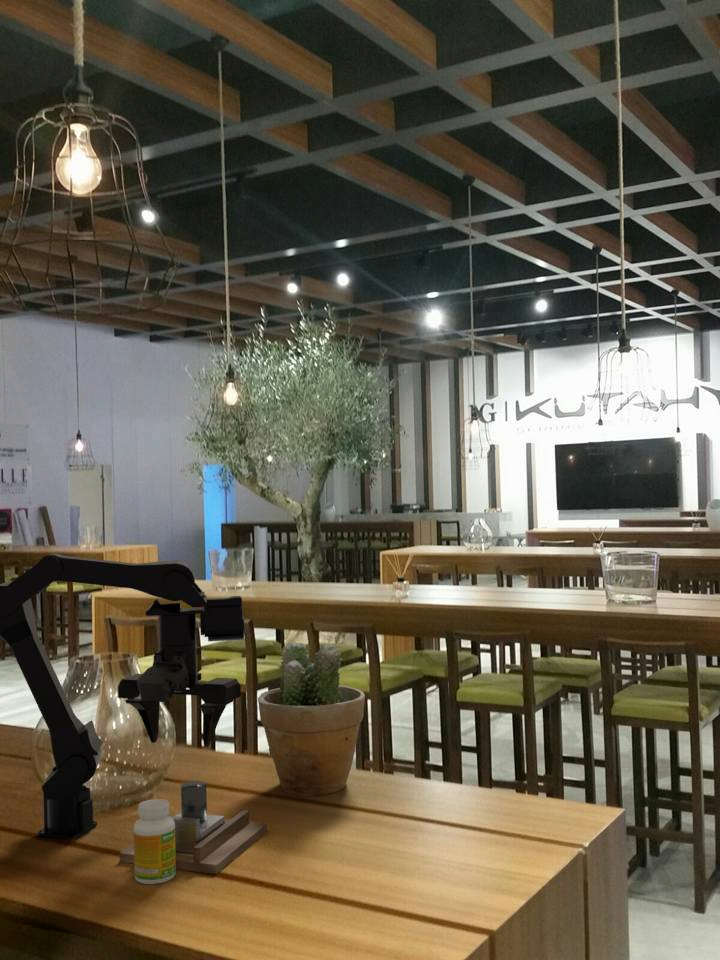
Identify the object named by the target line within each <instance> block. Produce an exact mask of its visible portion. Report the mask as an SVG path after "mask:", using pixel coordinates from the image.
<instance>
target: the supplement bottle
mask: <svg viewBox="0 0 720 960" xmlns="http://www.w3.org/2000/svg"><path fill="white" fill-rule="evenodd" d="M169 814H170V802H169V800H166V799H161V798H155V799H154V798H153V799H152V798H151V799H147V800H144V801H141V802H140V803H139V804H138V817H139V818H138V819H137V820H136V822H134V825H133V844H134V863H133V864H134V879H135V880H136V881H137V882H138V883H140V884H144V885H156V884H157V885H159V884H163V883H167V882H169V881H170V880H172V879H173V878H174V877H175V876H176V872H177V869H176V845H175V822H174V820H173V819H172V818H171V817H170V816H171V815H169Z"/></svg>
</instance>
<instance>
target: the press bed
mask: <svg viewBox="0 0 720 960" xmlns="http://www.w3.org/2000/svg"><path fill="white" fill-rule="evenodd" d="M224 823H225V824H224V825H223V826H221V827H220V828H219V829H217V830H216V831H215V832H213V833H212V834H211V835H209V836H208V837H207V838H205V839H204V840H202V841H201V842H200V843H198V844H197V845H196V846H194V847H193V852H194V853H187V852H179V851H176V870H181V871H190V872H197V873H203V874H205V873H206V874H214V875H218V874H219V873H220V872H221V871H222V870H223V869H224V867H225V866H226V865H227V864H228V865H229V864H230V863H232V862H233V861H234V860H235V859H237V858H238V857H239V856H240V855H241V854H242V853H243V852H245V851H247V849H249V848H250V847H251V846H252V845H253V844H254V843H256V842H257V841H258V840H259V839H261V838H262V837H261V836H264V835H265V834H266V833H268V823H265V822H257V821H250V811H249V810H246V809H245V810H242V811H240V812H238V813H237V814H236V815H234V816H233V817H232V818H229V819H227V818H224ZM249 846H250V847H249ZM237 856H238V857H237ZM233 859H234V860H233ZM232 860H233V861H232ZM231 861H232V862H231ZM119 862H120V863H126V864H134V843H133V844H131V845H130V846H128V847H127V848H125V849H124V850H122V851H120V852H119ZM228 865H227V866H228ZM227 866H226V867H227ZM226 867H225V868H226ZM218 872H219V873H218Z"/></svg>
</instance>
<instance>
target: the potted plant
mask: <svg viewBox="0 0 720 960" xmlns="http://www.w3.org/2000/svg"><path fill="white" fill-rule="evenodd" d="M282 650H283V652H282V651H281V652H280V656H282V657H281V660H282V661H280V663H281V666H280V670H281V675H282V676H281V677H280V680H279V687H278V688H274V689H269V690H267V691H264V692H262V693H261V694H260V695H258V697H257V703H258V710H259V718H260V723H261V724H262V726H263V728H264V732H265V737H266V741H267V746H268V751H269V754H270V755H271V758H272V760H273V763H274V766H275V770H276V773H277V776H278V779H279V784H280V787H281V788H282V790H283V791H284V792H286V793H288V794H292V795H295V796H302V797H303V796H304V797H317V796H326V795H331V794H334V793H337V792H339V791H341V790H342V789H344V788H345V787H346V785H347V783H348V779H349V775H350V772H351V770H352V766H353V761H354V757H355V751H356V747H357V743H358V737H359V731H360V727H361V726H360V725H361V722H362V721H363V719H364V711H365V710H364V709H365V699H366V696H365V693H364V692H363V691H362V690H360V689H358V688H355V687H352V686H345V685H341V684H340V678H341V677H340V675H341V674H340V672H339V670H340V668H341V662H342V661H343V658H341V655H342V653H341V652H340V651H339V648H338V647H337V646H335V645H332V644H331V645H329V644H324V645H323V646H319V650H317V652H315V653H314V654H315V658H314V660H313V662H311V657H310V654H309V651H308V648H307V645H305V643H303V642H297V641H296V642H295V641H294V642H290V643H287V644H285V646H284V647H282Z"/></svg>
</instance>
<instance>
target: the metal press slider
mask: <svg viewBox="0 0 720 960" xmlns="http://www.w3.org/2000/svg"><path fill="white" fill-rule="evenodd" d="M207 797H208V796H207V783H206V781H200V780H193V781H192V780H191V781H186V782H183V783H182V784H181V785H180V805H181V806H180V808H181V810H180V811H181V812H180V813H178V814H176V815H169V816H170V817H171V818H172V819H173V820H174V822H175V845H176V851H179V852H187V853H194V852H193V847H194V846H196V845H197V844H198V843H200V842H201V841H202V840H204V839H205V838H207V837H208V836H209V835H211V834H212V833H213V832H215V831H216V830H217V829H219V828H220V827H221V826H223V825H224V824H225V823H224V819H225V816H224V815H218V814H217V815H215V814H208V802H207Z"/></svg>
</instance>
